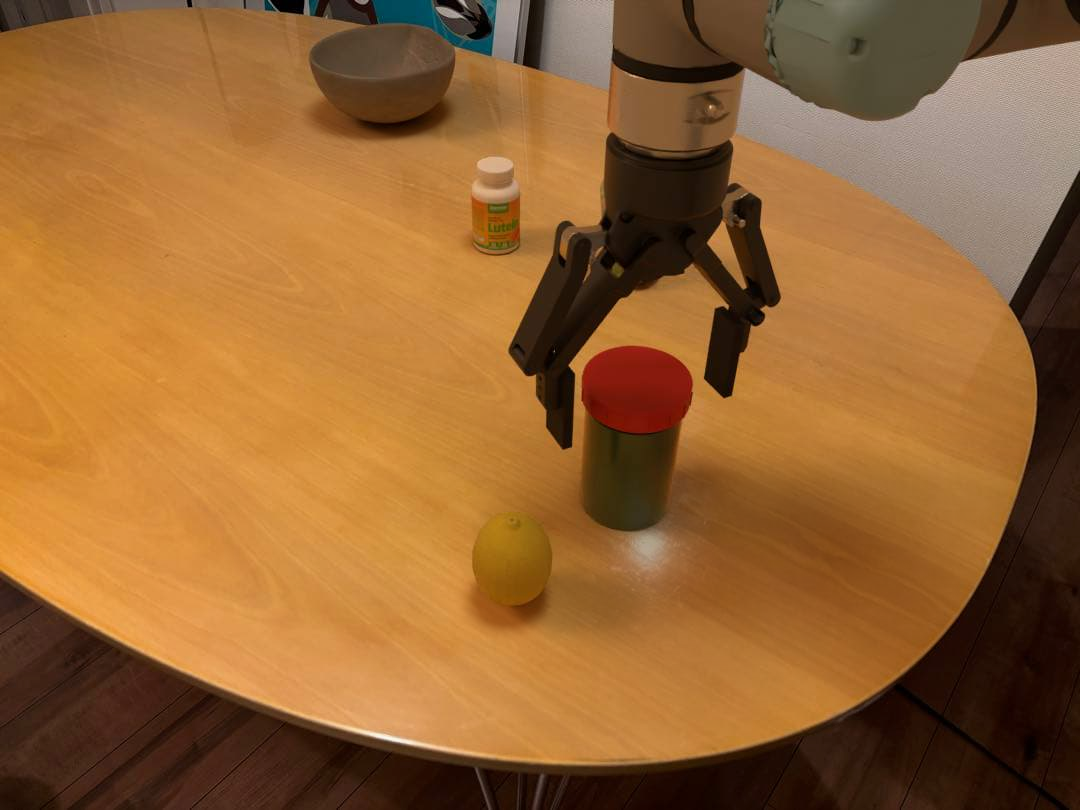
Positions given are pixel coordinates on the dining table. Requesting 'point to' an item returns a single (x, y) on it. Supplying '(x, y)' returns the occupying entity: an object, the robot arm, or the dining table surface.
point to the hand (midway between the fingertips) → (640, 411)
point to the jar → (627, 474)
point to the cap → (636, 389)
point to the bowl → (383, 70)
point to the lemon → (512, 558)
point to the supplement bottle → (495, 206)
